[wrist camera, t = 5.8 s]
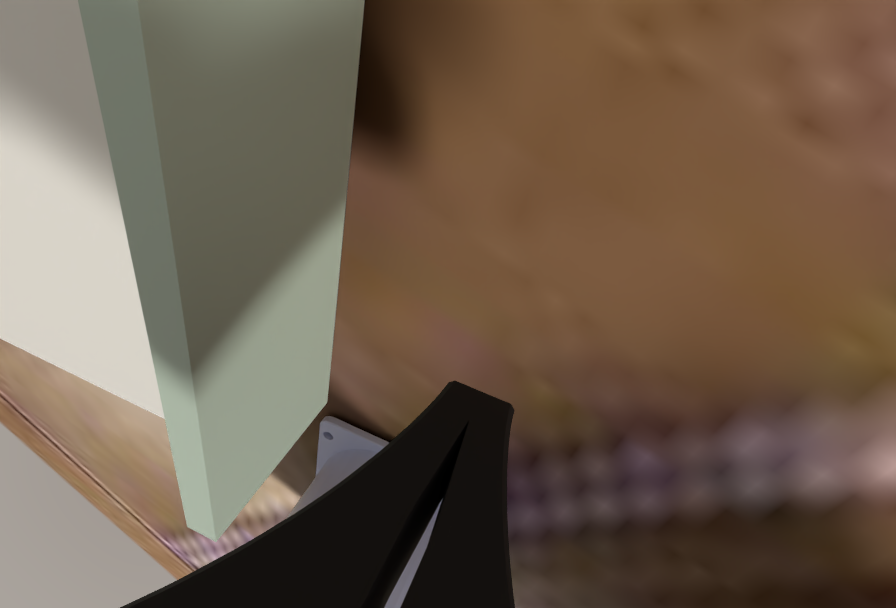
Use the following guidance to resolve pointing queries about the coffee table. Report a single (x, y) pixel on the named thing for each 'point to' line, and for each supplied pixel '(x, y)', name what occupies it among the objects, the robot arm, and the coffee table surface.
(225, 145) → the lid
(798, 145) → the coffee table surface
